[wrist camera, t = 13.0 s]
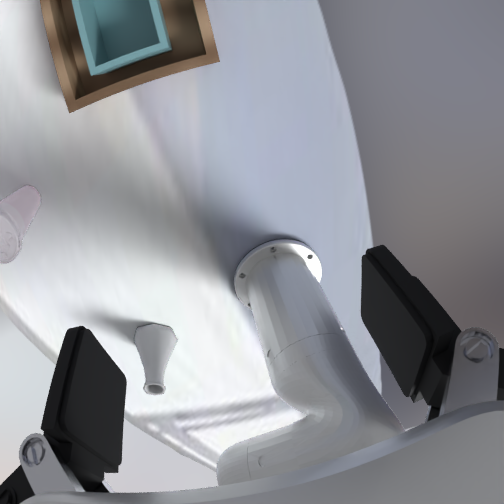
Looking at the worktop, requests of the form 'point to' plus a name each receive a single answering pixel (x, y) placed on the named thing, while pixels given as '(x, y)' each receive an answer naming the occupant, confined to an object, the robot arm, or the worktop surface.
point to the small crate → (120, 32)
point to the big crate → (103, 85)
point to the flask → (155, 354)
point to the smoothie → (16, 220)
